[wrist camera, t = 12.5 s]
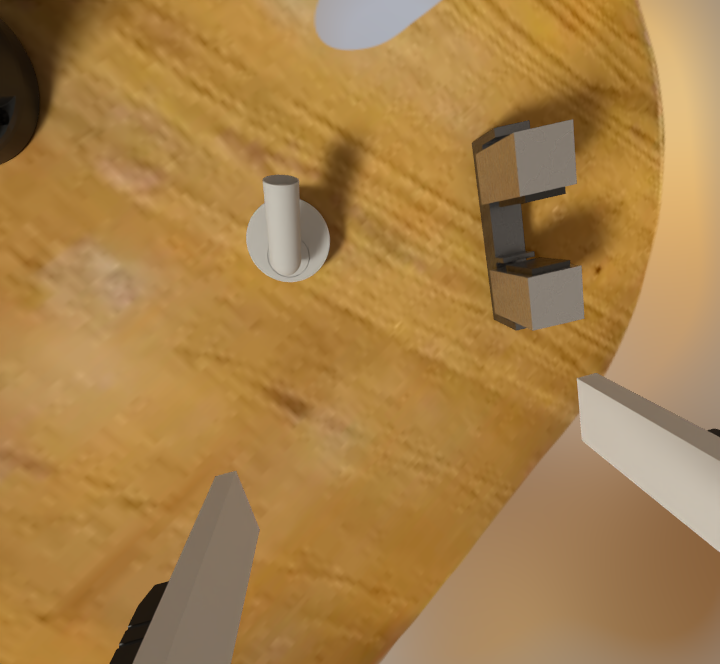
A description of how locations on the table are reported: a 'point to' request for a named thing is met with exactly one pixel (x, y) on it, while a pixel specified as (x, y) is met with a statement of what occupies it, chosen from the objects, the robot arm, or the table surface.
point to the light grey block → (538, 292)
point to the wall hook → (287, 232)
